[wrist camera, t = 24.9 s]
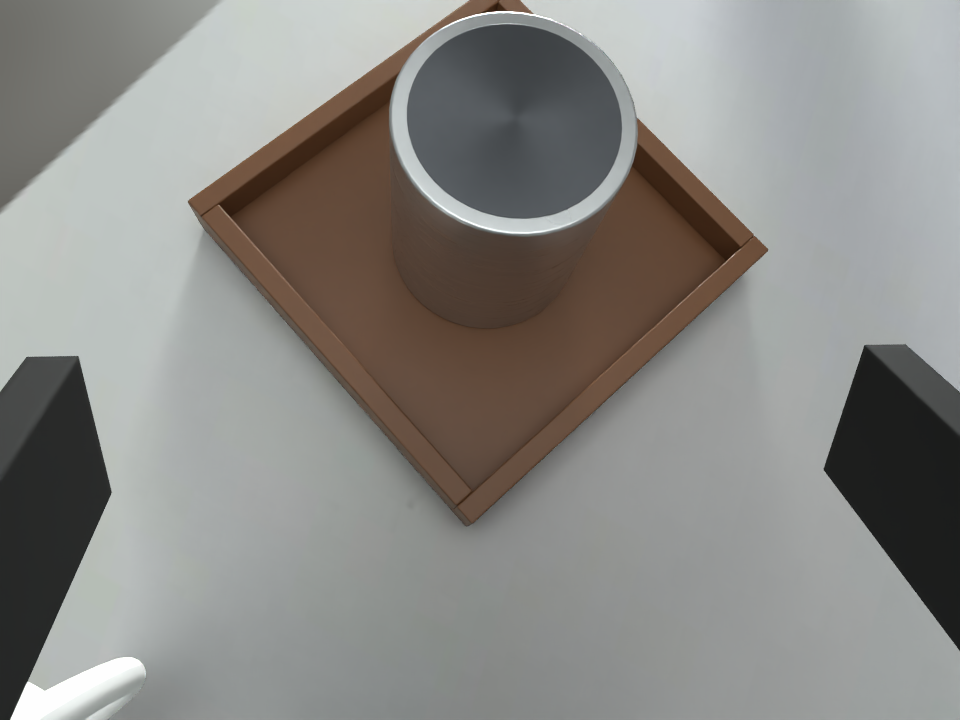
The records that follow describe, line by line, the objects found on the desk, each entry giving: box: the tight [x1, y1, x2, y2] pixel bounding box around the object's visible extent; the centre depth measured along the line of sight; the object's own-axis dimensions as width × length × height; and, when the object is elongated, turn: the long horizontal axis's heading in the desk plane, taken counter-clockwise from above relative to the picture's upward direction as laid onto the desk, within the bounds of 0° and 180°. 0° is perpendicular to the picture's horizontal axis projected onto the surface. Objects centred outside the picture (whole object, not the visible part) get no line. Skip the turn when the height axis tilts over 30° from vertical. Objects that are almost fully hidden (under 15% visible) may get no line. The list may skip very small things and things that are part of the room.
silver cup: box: [389, 11, 638, 328], centre depth 27 cm, size 7×7×9 cm
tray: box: [188, 0, 768, 526], centre depth 31 cm, size 16×16×2 cm
